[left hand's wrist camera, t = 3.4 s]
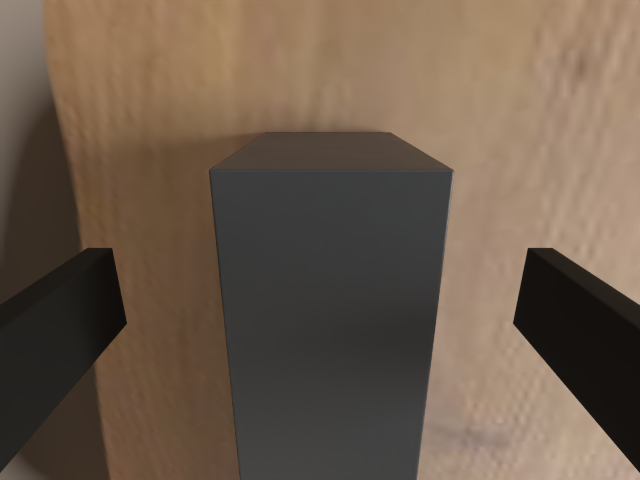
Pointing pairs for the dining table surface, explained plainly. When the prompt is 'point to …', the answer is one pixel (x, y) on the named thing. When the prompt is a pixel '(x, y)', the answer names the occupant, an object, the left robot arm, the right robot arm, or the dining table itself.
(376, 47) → the dining table surface
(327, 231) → the bar
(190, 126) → the dining table surface
